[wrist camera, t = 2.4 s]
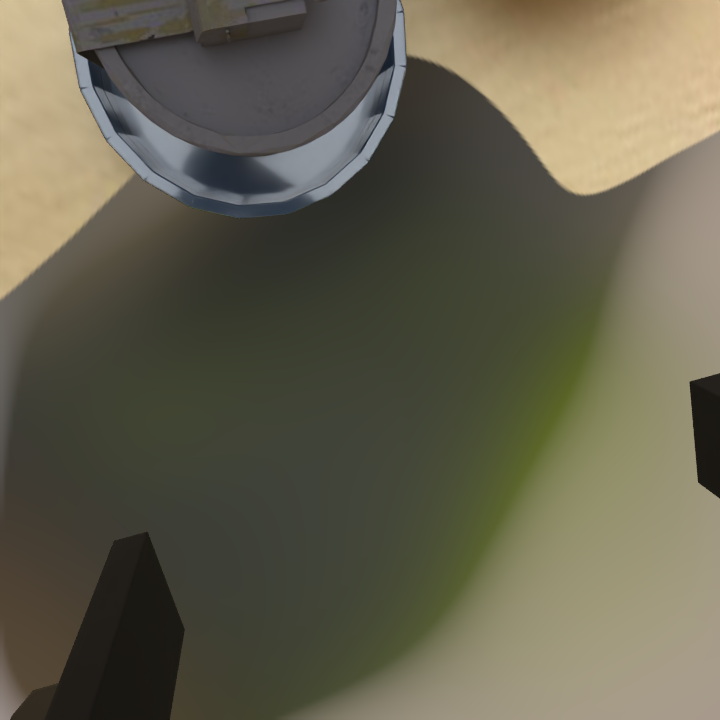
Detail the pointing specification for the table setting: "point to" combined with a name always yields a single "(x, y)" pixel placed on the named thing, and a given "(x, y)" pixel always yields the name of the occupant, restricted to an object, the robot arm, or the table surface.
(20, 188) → the table surface
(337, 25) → the canister
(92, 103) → the bowl
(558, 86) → the table surface
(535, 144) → the table surface
